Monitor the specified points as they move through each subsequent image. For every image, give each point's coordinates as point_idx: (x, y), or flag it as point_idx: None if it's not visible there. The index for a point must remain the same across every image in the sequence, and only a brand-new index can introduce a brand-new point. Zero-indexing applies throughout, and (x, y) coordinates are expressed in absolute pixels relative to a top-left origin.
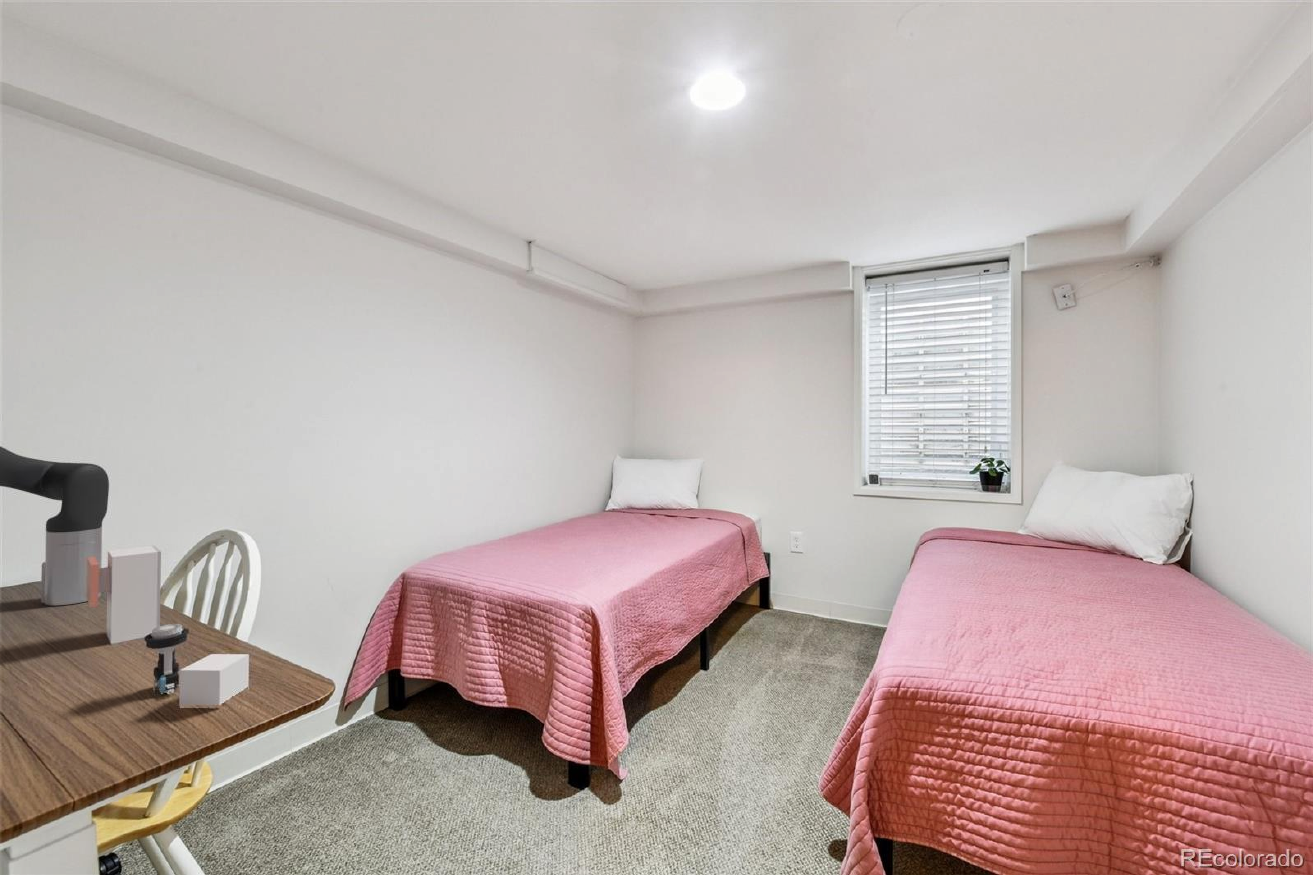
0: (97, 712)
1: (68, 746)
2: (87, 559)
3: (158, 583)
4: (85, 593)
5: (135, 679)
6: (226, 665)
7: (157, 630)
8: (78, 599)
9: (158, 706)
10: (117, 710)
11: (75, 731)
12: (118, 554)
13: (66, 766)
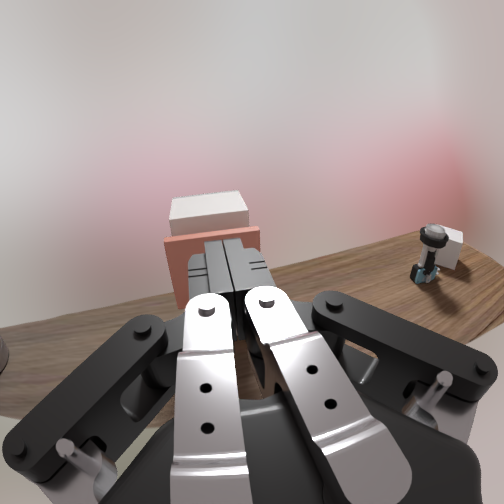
0: (456, 302)
1: (496, 300)
2: (174, 243)
3: None
4: (2, 345)
5: (396, 297)
6: (455, 230)
7: (442, 231)
8: (4, 356)
9: (450, 278)
10: (454, 293)
11: (481, 304)
12: (225, 208)
13: None
